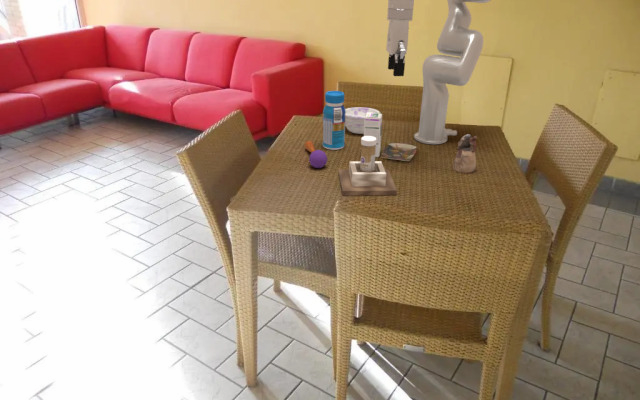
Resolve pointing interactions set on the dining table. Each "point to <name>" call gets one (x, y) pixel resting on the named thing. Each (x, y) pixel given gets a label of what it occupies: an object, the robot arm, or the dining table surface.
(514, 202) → the dining table surface
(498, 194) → the dining table surface
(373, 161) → the sprinkles bottle
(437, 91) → the robot arm
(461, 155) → the figurine
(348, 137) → the dining table surface
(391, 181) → the socket board
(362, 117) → the paper bowls
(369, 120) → the syrup box
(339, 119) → the beverage bottle
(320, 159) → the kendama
